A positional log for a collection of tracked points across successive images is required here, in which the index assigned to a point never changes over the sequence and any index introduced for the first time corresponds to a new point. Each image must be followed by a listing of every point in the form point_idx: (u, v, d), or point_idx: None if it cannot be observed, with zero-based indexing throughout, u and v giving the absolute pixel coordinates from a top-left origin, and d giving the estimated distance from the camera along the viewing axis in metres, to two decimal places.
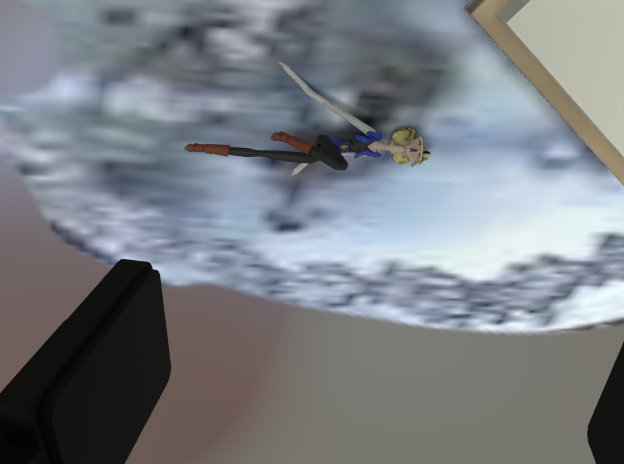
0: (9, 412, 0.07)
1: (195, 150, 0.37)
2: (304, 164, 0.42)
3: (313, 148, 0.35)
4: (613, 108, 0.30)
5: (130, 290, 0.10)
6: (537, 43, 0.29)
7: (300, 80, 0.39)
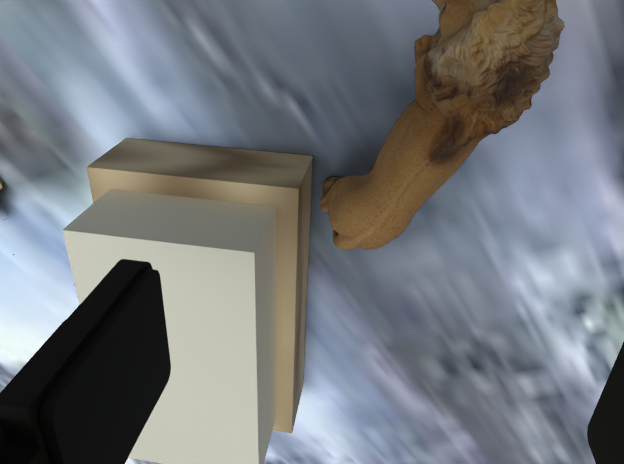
0: (9, 412, 0.07)
1: None
2: None
3: None
4: None
5: (130, 290, 0.10)
6: (82, 272, 0.22)
7: None
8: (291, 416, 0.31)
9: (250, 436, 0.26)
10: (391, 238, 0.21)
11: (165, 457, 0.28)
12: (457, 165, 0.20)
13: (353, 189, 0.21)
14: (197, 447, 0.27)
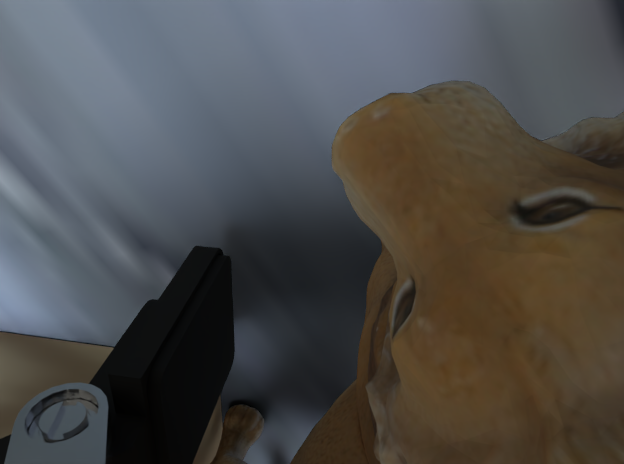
0: (122, 382, 0.08)
1: None
2: None
3: None
4: None
5: (209, 274, 0.10)
6: None
7: None
8: None
9: None
10: None
11: None
12: None
13: None
14: None
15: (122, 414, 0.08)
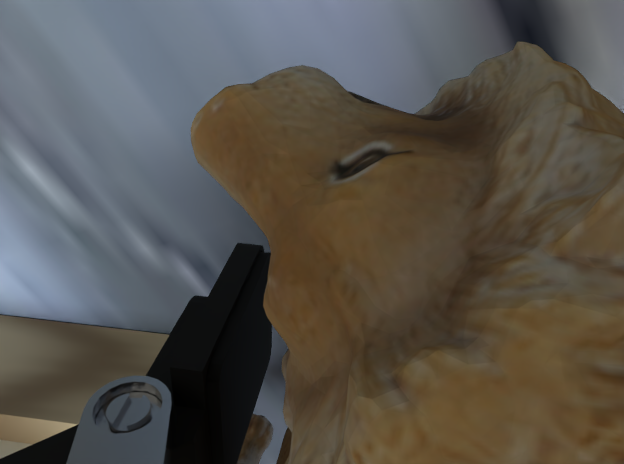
0: (183, 375, 0.08)
1: None
2: None
3: None
4: None
5: (254, 270, 0.10)
6: None
7: None
8: None
9: None
10: None
11: None
12: None
13: None
14: None
15: (181, 406, 0.08)
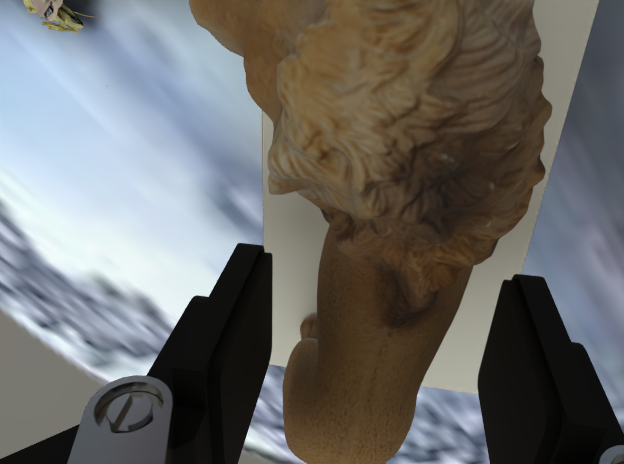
0: (184, 375, 0.08)
1: None
2: None
3: None
4: (301, 220, 0.16)
5: (255, 271, 0.10)
6: None
7: None
8: None
9: None
10: (389, 458, 0.11)
11: None
12: (451, 311, 0.10)
13: (297, 389, 0.12)
14: None
15: (182, 406, 0.08)
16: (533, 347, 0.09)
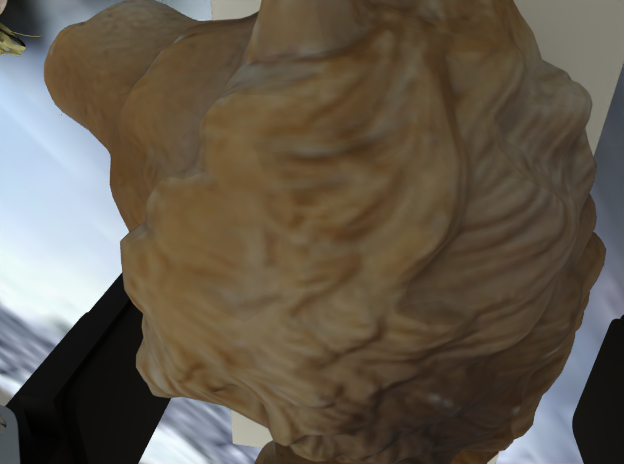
0: (35, 403, 0.07)
1: None
2: None
3: None
4: None
5: None
6: None
7: None
8: None
9: None
10: None
11: None
12: None
13: None
14: None
15: (37, 436, 0.08)
16: None
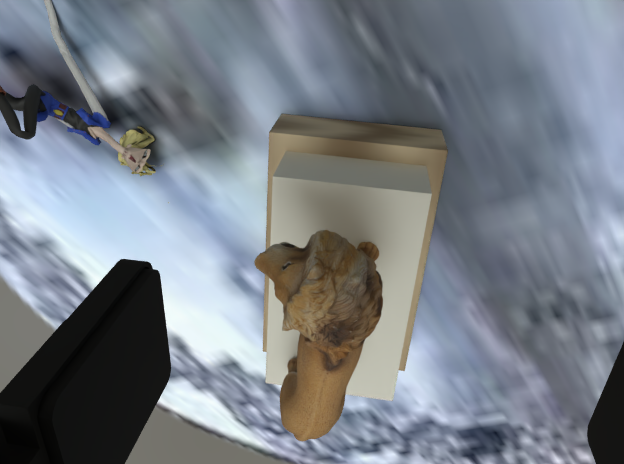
0: (9, 412, 0.07)
1: None
2: None
3: (0, 95, 0.28)
4: None
5: (130, 290, 0.10)
6: (280, 212, 0.28)
7: (52, 12, 0.32)
8: (406, 355, 0.36)
9: (393, 359, 0.31)
10: (329, 428, 0.25)
11: None
12: (353, 363, 0.24)
13: (288, 397, 0.26)
14: None
15: (13, 445, 0.07)
16: None
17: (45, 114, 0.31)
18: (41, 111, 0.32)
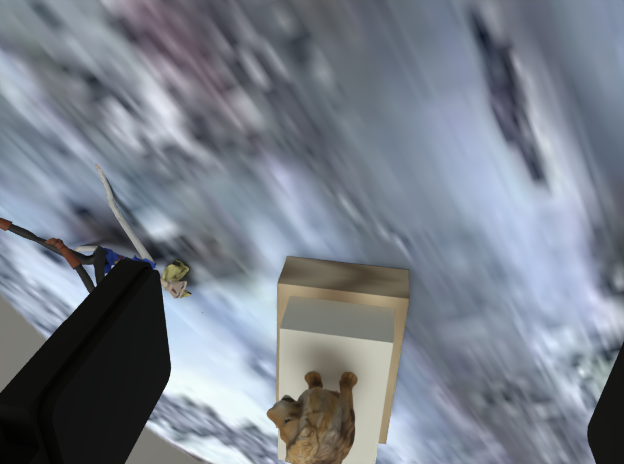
0: (9, 412, 0.07)
1: None
2: (87, 249, 0.46)
3: (79, 266, 0.39)
4: None
5: (130, 290, 0.10)
6: (285, 350, 0.38)
7: (108, 188, 0.43)
8: (386, 433, 0.46)
9: (372, 446, 0.42)
10: None
11: None
12: None
13: None
14: None
15: (13, 445, 0.07)
16: None
17: (109, 267, 0.42)
18: (105, 263, 0.43)
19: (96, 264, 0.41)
